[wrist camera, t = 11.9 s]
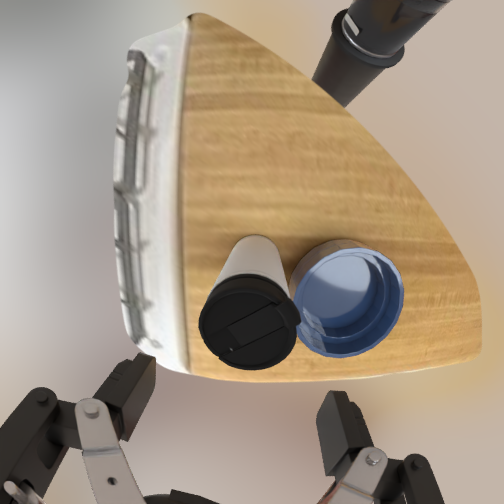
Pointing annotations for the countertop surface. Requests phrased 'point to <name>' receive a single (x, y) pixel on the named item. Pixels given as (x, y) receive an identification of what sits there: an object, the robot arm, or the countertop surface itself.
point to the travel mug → (250, 308)
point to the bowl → (345, 298)
